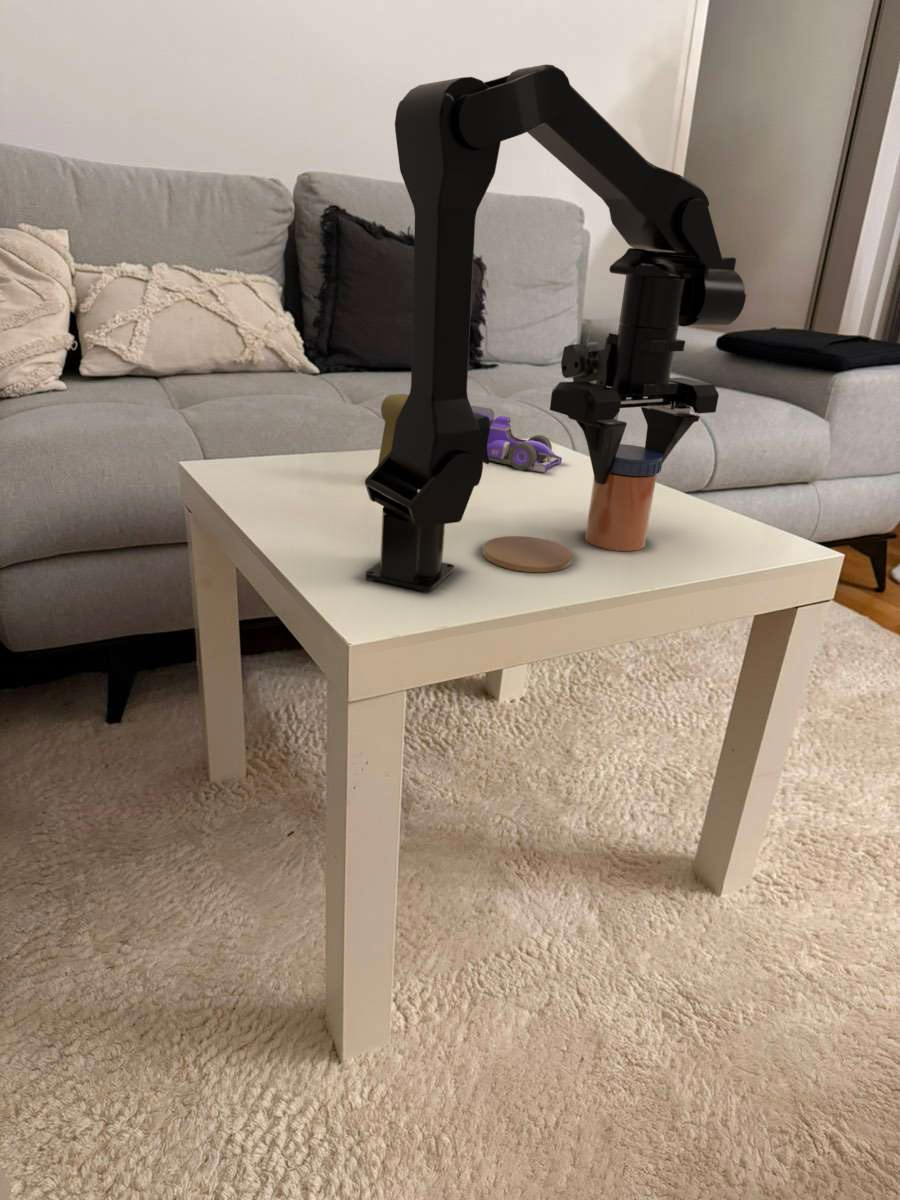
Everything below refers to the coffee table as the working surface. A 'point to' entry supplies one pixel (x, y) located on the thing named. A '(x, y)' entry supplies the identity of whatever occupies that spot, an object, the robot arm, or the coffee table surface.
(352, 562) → the coffee table surface
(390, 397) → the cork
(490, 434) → the toy race car
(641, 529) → the jar
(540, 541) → the coaster
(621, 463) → the jar lid
